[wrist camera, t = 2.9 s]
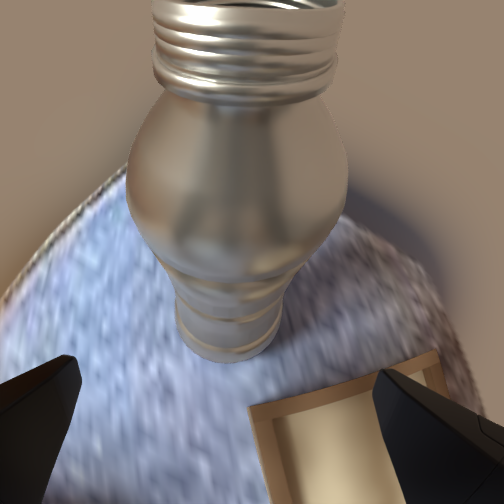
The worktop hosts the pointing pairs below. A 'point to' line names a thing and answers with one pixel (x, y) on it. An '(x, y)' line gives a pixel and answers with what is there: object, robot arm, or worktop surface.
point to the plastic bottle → (238, 161)
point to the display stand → (333, 441)
